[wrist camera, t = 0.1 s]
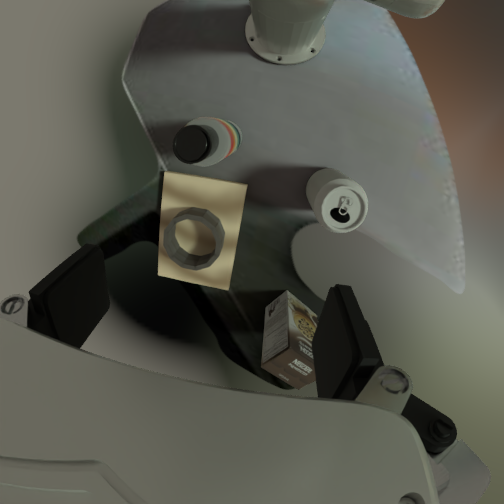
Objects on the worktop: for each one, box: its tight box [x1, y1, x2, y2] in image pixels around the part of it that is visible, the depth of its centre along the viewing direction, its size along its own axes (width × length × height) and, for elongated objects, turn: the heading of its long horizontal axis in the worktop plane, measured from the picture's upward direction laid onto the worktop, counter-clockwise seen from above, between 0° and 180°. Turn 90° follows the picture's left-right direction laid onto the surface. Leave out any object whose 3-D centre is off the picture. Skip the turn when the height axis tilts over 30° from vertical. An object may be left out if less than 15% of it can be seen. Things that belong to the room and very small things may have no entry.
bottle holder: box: [158, 171, 248, 290], centre depth 47 cm, size 20×14×5 cm
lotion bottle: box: [173, 117, 242, 167], centre depth 33 cm, size 6×6×20 cm
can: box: [306, 168, 368, 233], centre depth 39 cm, size 8×8×12 cm
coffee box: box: [261, 290, 318, 390], centre depth 48 cm, size 9×6×16 cm
